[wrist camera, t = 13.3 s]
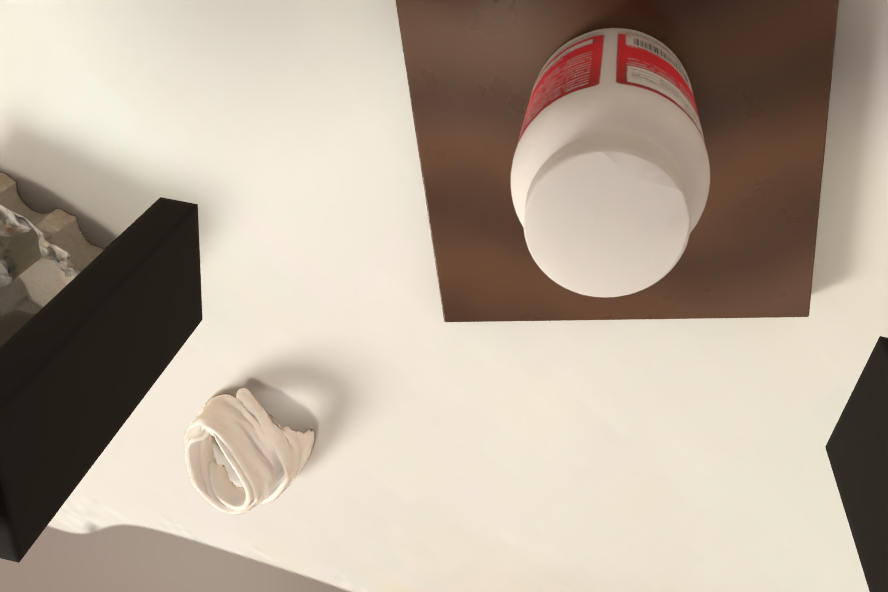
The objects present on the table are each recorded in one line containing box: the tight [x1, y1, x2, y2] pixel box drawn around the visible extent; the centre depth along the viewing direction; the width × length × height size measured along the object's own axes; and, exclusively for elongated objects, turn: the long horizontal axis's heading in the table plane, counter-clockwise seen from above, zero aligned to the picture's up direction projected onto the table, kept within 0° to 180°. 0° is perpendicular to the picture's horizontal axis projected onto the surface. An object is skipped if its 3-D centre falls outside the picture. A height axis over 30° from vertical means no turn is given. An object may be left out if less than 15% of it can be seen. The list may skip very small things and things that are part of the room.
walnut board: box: [396, 0, 839, 322], centre depth 34 cm, size 20×16×2 cm
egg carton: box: [0, 173, 105, 317], centre depth 42 cm, size 11×8×4 cm
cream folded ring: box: [184, 388, 314, 514], centre depth 46 cm, size 8×7×5 cm
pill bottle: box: [511, 28, 710, 298], centre depth 29 cm, size 6×6×11 cm
